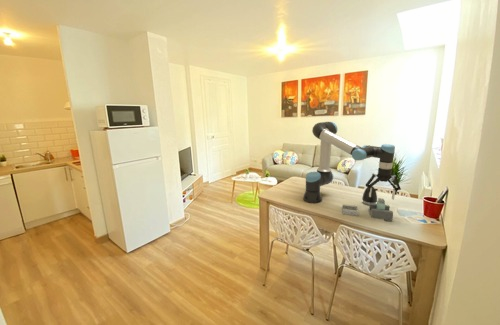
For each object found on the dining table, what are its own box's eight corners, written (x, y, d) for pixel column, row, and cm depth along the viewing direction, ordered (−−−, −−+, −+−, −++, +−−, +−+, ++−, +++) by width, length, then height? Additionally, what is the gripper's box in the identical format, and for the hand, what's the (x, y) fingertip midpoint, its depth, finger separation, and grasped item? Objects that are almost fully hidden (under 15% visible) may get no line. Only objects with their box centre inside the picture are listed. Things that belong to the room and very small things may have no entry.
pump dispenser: (371, 208, 156) (373, 189, 153) (359, 203, 165) (360, 185, 162) (379, 205, 161) (381, 186, 157) (367, 200, 170) (368, 183, 166)
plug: (377, 216, 143) (378, 200, 140) (375, 213, 147) (377, 197, 145) (383, 217, 141) (385, 201, 139) (382, 214, 146) (384, 198, 143)
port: (371, 218, 141) (372, 209, 140) (368, 211, 152) (369, 202, 151) (392, 221, 137) (393, 211, 135) (387, 213, 148) (388, 204, 146)
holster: (342, 215, 148) (343, 210, 147) (342, 209, 157) (342, 204, 156) (358, 217, 144) (358, 212, 143) (356, 210, 153) (357, 205, 152)
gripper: (364, 168, 138) (361, 197, 143) (409, 171, 129) (404, 202, 134) (363, 165, 144) (360, 193, 150) (406, 167, 135) (401, 197, 141)
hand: (381, 197), depth 142 cm, fingers open, 13 cm apart
